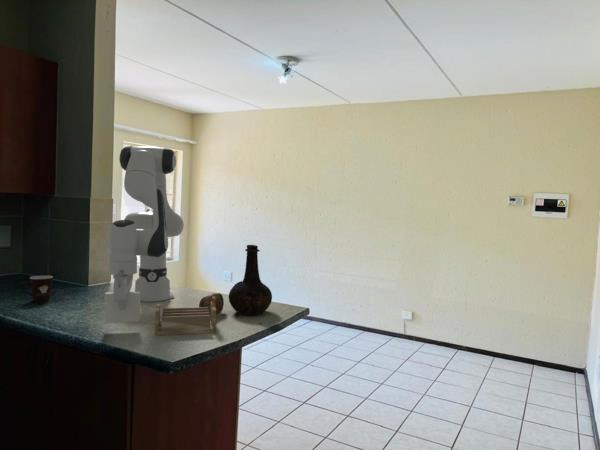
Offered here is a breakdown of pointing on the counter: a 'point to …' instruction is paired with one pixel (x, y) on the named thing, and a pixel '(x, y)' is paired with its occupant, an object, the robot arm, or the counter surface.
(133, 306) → the panel
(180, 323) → the rack
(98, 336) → the counter surface
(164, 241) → the robot arm
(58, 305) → the counter surface
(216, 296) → the tin
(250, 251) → the glass bottle
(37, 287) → the coffee mug
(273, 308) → the counter surface
